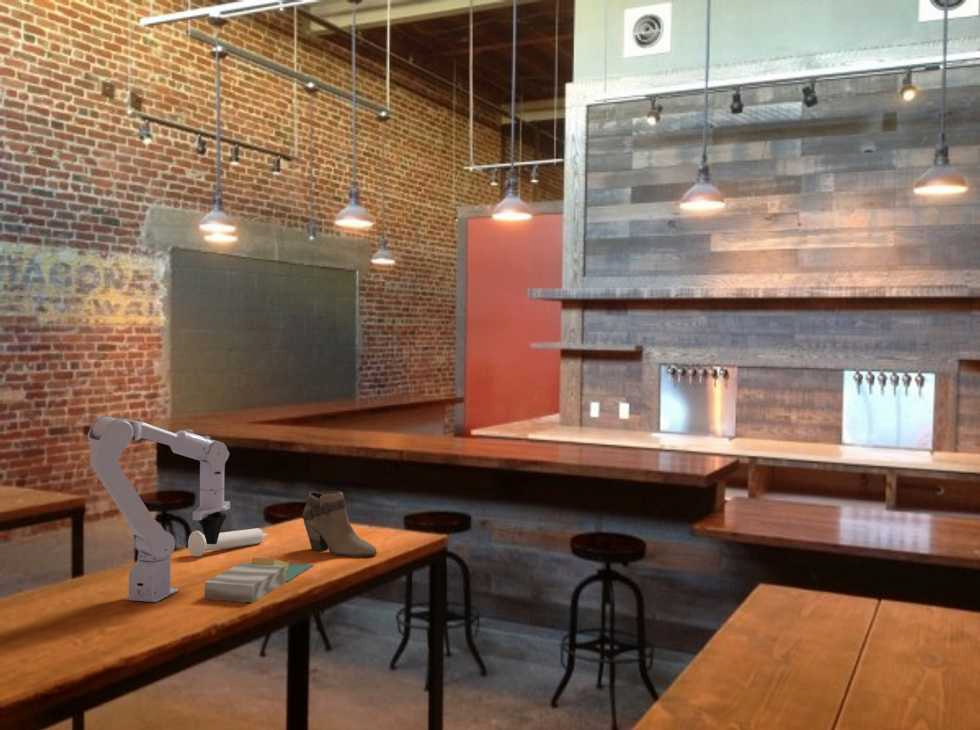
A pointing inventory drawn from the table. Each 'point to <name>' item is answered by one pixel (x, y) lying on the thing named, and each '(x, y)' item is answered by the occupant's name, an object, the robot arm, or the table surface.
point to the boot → (333, 526)
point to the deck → (245, 582)
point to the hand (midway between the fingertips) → (211, 543)
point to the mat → (296, 570)
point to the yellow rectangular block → (269, 562)
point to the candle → (224, 540)
